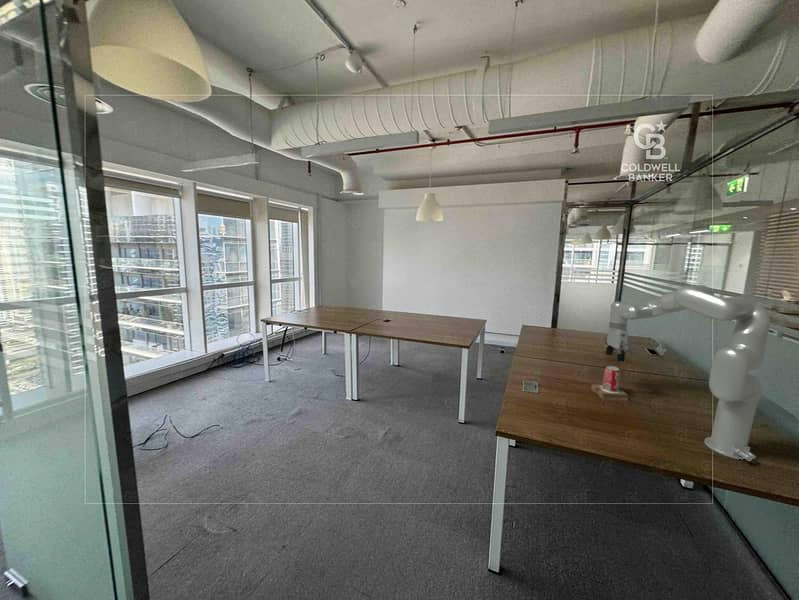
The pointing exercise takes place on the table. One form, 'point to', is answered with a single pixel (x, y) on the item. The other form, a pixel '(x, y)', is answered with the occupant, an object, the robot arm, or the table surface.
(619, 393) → the base
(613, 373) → the soda can
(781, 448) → the table surface
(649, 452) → the table surface
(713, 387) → the robot arm
